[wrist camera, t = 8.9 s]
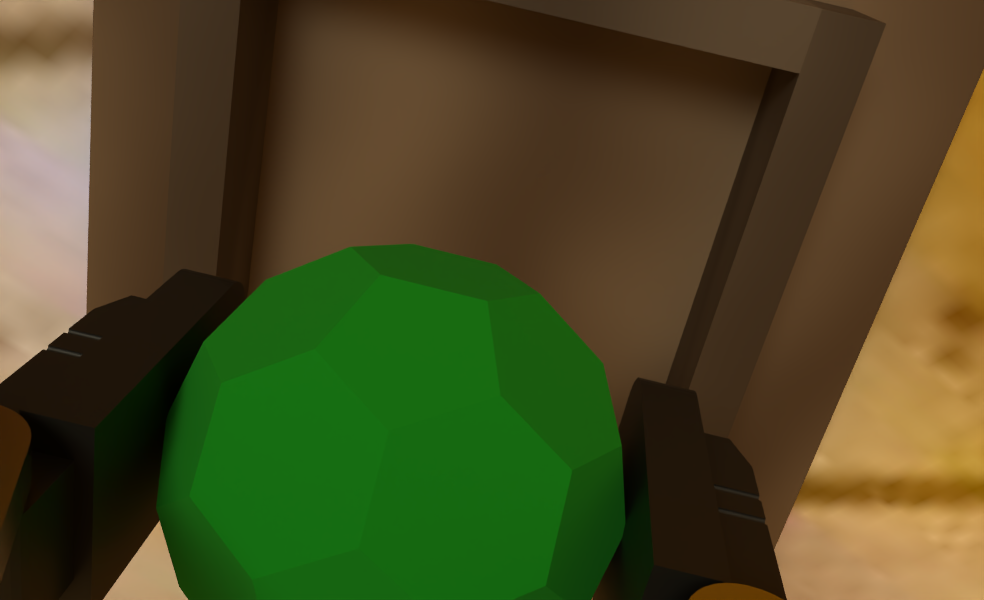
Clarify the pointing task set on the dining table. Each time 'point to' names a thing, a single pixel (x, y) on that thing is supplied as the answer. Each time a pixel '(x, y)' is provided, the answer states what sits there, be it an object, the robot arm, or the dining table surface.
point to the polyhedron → (392, 440)
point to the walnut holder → (553, 169)
